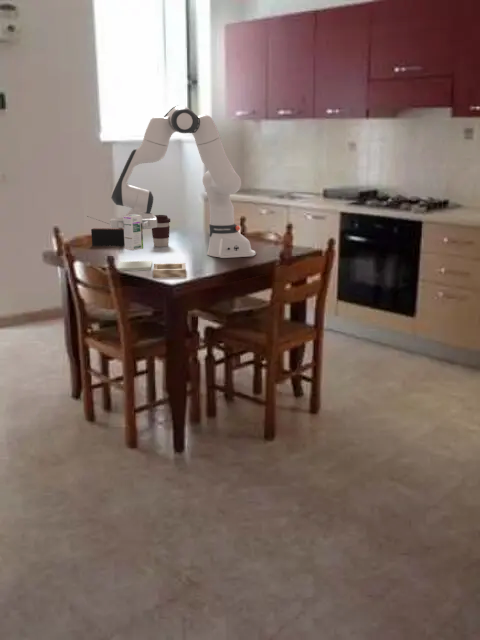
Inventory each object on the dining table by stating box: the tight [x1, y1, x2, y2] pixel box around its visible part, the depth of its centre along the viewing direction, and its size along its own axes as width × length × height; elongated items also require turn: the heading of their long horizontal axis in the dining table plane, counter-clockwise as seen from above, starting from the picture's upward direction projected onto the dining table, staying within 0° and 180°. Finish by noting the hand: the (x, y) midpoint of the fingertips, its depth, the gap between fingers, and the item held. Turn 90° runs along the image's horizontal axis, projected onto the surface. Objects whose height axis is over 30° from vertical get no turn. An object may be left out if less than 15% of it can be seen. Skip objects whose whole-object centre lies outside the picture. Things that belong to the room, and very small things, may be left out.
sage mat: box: [116, 260, 153, 272], centre depth 312 cm, size 14×14×1 cm
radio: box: [86, 215, 125, 247], centre depth 363 cm, size 19×3×15 cm, turn 84°
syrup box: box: [122, 214, 144, 251], centre depth 308 cm, size 6×6×14 cm
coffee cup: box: [151, 214, 171, 248], centre depth 361 cm, size 10×10×15 cm
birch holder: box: [152, 262, 187, 278], centre depth 299 cm, size 13×13×3 cm
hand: (132, 225), depth 307 cm, fingers closed on syrup box, 8 cm apart
